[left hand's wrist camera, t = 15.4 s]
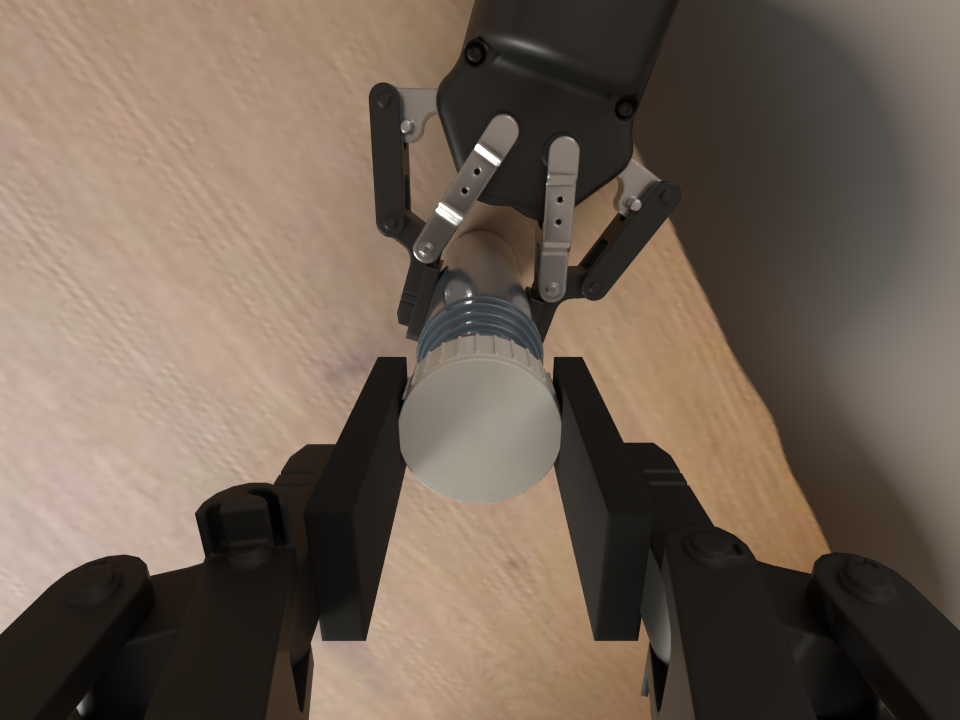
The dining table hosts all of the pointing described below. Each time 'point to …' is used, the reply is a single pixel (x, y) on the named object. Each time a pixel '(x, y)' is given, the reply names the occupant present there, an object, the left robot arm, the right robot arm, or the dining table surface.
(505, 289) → the bottle
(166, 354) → the dining table surface
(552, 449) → the cap
